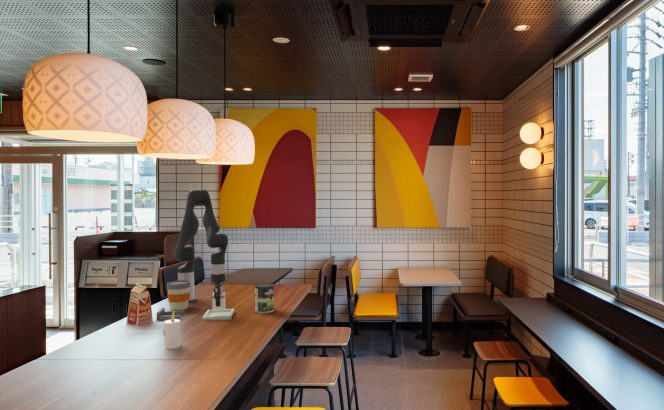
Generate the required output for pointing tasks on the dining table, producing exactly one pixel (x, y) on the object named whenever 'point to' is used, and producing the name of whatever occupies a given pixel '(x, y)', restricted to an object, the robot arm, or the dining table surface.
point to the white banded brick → (222, 302)
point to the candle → (172, 333)
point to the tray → (219, 315)
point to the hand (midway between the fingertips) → (218, 305)
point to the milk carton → (139, 306)
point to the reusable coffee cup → (178, 294)
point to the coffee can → (264, 298)
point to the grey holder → (169, 315)
